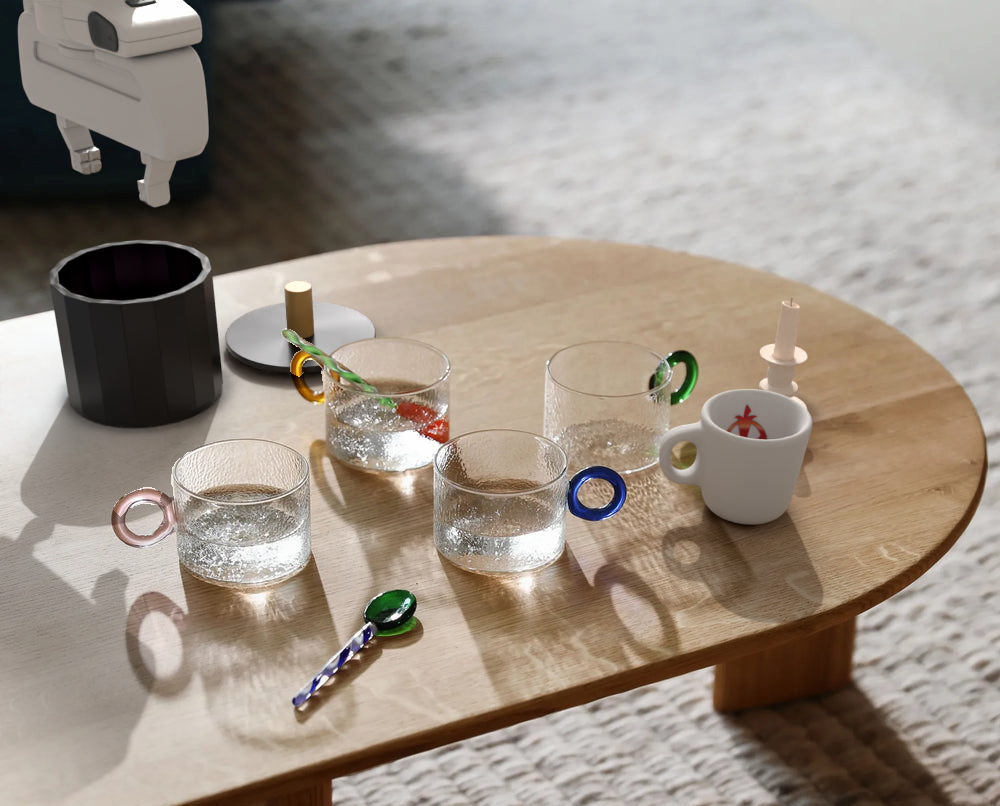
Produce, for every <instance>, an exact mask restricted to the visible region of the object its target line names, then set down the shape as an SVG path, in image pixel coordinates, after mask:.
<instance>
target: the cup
mask: <svg viewBox="0 0 1000 806" xmlns="http://www.w3.org/2000/svg"><path fill="white" fill-rule="evenodd" d="M810 413H811V412H809V410H808V408H807V409H806V408H805V407H804V406H803V405H801V404H800V403H798V402H797V401H795V400H793V399H791V398H789V397H787V396H784V395H781V394H778V393H775V392H770V391H765V390H760V389H757V388H741V389H740V388H739V389H731V390H726V391H722V392H719V393H717V394H715V395H712V396H711V397H710V398H709V399H707V400H706V402H704V404H703V406H702V407H701V412H700V419H699V421H697V422H694V423H687V424H682V425H678V426H674V427H673V428H671V429H669V430H668V431H667V432H666V433H665V434H664V435H663V437H662V439H661V442H660V444H659V448H658V460H659V461H658V462H659V466H660V469H661V472H662V475H664V477H665V478H666V479H667V480H668V481H670V482H672V483H674V484H677V485H688V486H697V487H699V488H700V489H701V496H702V498H703V502H704V503H705V505H706V507H707V508H708V509H709V510H710V511H711V512H712V513H713V514H714V515H716V516H718V517H719V518H721V519H723V520H726V521H727V522H731V523H735V524H741V525H751V526H752V525H763V524H767V523H771V522H772V521H775V520H777V519H779V518H780V517H781V516H782V515H783V514H784V513H786V511H787V509H788V508H789V506H790V504H791V502H792V500H793V496H794V493H795V490H796V486H797V483H798V479H799V477H800V476H799V475H800V472H801V468H802V465H803V463H804V462H803V461H804V458H805V454H806V452H807V448H808V444H809V441H810V437H811V434H812V430H813V419H812V415H811V414H810ZM682 442H690V443H692V444H693V445H694V446H695V447H696V455H695V459H694V462H693V463H692V464H691V465H690V466H689V467H687V468H685V469H678V468H676V467H674V466H673V464H672V461H671V455H672V451H673V449H674V447H676V445H678V444H679V443H682Z"/></svg>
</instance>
